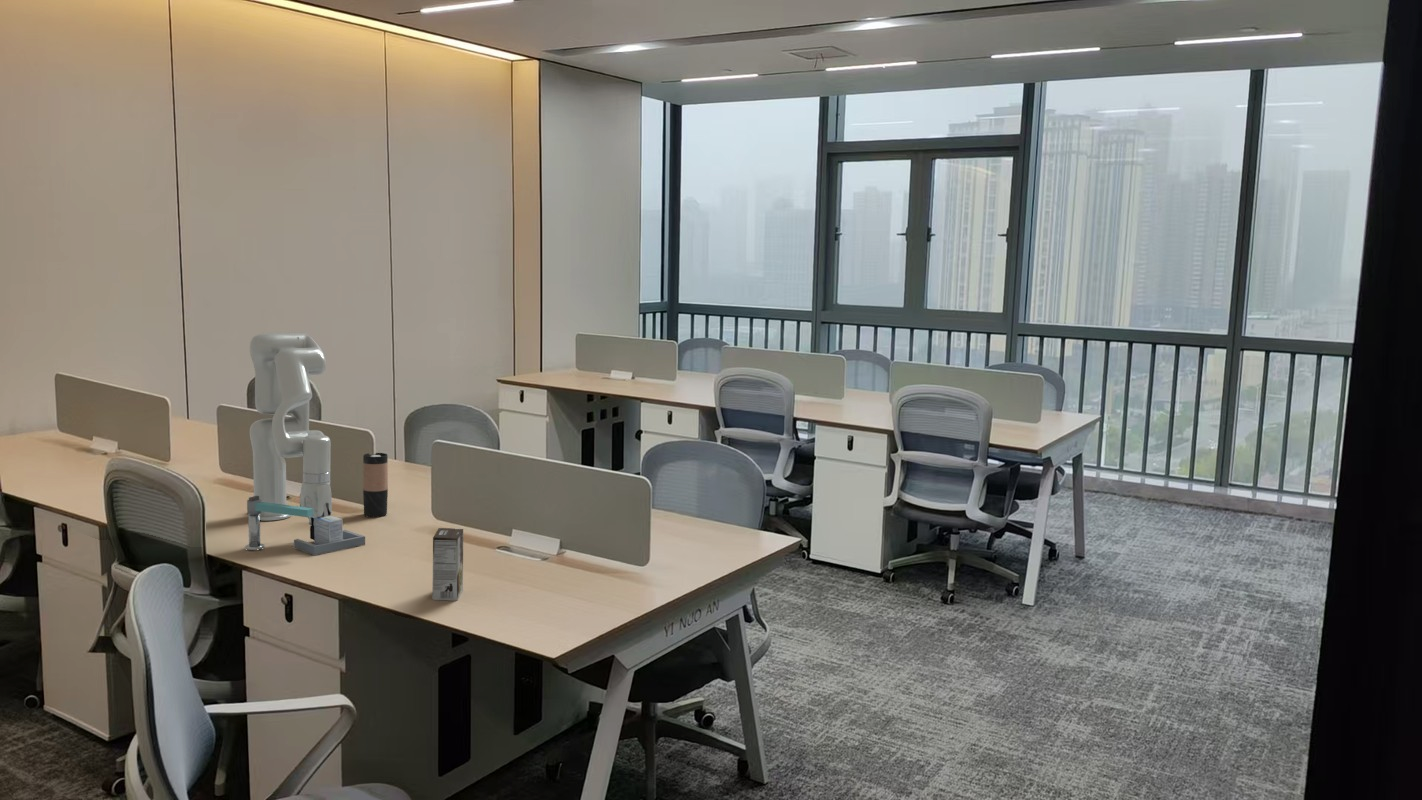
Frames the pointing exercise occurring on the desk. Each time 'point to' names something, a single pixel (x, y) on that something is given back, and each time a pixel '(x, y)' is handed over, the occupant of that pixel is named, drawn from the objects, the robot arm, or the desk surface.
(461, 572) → the coffee box
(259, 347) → the robot arm
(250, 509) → the bar
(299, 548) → the bay
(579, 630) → the desk surface
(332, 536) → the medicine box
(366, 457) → the travel mug
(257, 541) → the post
